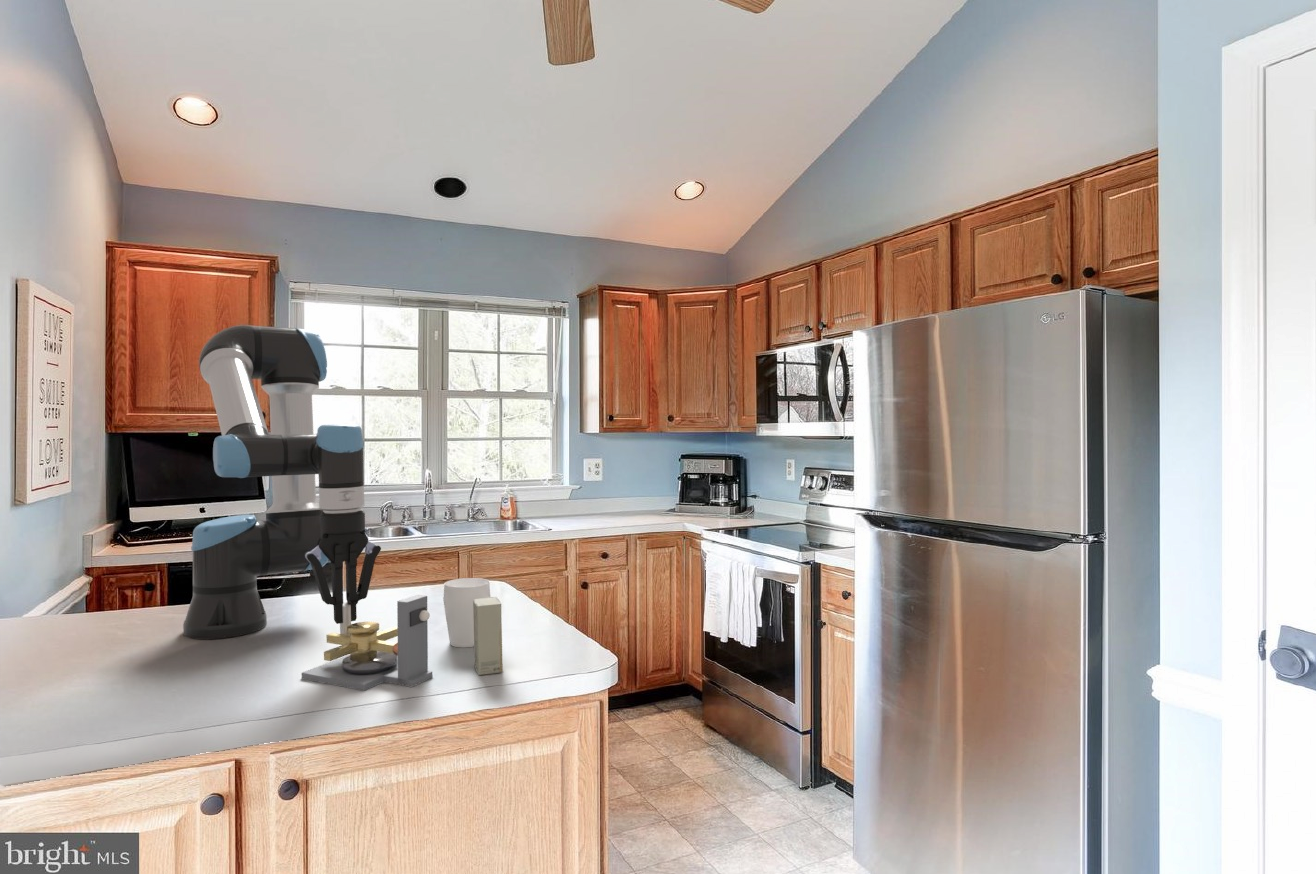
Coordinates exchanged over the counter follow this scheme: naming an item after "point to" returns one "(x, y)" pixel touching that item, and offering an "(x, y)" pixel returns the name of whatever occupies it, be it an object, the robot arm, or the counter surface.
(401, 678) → the stand
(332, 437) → the robot arm
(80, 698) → the counter surface
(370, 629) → the capstan
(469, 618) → the cup
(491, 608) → the skincare box
